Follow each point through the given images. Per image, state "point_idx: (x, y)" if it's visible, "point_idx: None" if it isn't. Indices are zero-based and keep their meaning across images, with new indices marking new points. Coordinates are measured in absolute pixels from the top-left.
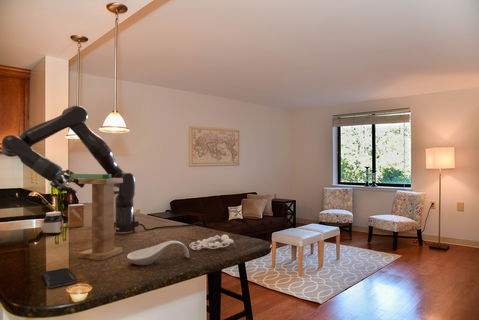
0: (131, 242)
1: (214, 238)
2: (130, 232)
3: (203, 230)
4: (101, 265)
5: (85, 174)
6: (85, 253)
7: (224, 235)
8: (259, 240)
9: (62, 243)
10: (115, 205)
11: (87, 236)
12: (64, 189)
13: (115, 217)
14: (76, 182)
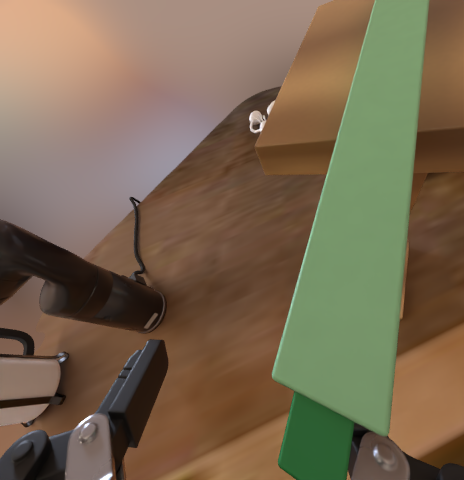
0: (241, 256)
1: (265, 120)
2: (160, 292)
3: (172, 180)
4: (450, 228)
5: (419, 91)
6: (404, 293)
7: (256, 111)
8: (242, 103)
9: (238, 469)
10: (6, 368)
11: (164, 405)
12: (433, 475)
13: (47, 368)
14: (135, 426)
